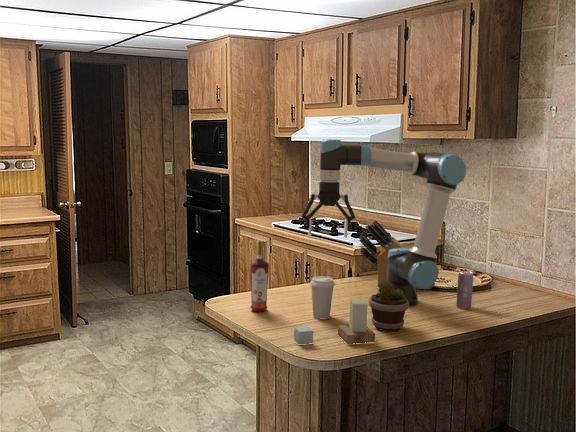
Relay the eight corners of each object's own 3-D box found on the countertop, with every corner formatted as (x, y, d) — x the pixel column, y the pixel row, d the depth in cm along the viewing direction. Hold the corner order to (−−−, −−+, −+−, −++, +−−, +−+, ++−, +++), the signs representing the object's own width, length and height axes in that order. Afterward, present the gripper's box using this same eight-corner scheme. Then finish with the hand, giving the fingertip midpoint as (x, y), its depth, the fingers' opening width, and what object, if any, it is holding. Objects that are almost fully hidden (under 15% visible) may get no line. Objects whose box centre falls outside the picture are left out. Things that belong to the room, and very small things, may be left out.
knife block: (357, 280, 302) (360, 216, 298) (432, 284, 298) (436, 220, 293) (356, 286, 291) (359, 220, 286) (434, 291, 287) (439, 223, 282)
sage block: (363, 327, 223) (364, 299, 221) (366, 331, 218) (367, 303, 216) (349, 327, 222) (350, 299, 221) (352, 332, 217) (353, 304, 216)
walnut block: (364, 335, 227) (364, 324, 226) (374, 344, 217) (375, 333, 216) (337, 336, 224) (338, 325, 224) (347, 346, 215) (347, 335, 214)
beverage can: (472, 306, 263) (474, 271, 261) (469, 310, 258) (472, 274, 256) (457, 304, 266) (459, 270, 264) (454, 308, 260) (457, 273, 258)
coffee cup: (316, 321, 239) (318, 283, 237) (304, 314, 247) (305, 277, 245) (338, 318, 243) (339, 280, 241) (325, 311, 252) (326, 274, 249)
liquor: (250, 313, 247) (251, 242, 243) (248, 307, 254) (249, 239, 250) (269, 312, 248) (270, 242, 244) (266, 307, 255) (268, 239, 251)
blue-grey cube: (307, 339, 219) (307, 326, 218) (312, 344, 214) (313, 330, 214) (293, 341, 217) (294, 327, 217) (299, 346, 213) (299, 331, 212)
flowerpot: (380, 318, 245) (382, 268, 242) (415, 327, 235) (418, 275, 232) (359, 327, 233) (361, 274, 230) (395, 337, 224) (398, 282, 221)
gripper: (297, 181, 230) (295, 238, 234) (364, 182, 233) (362, 239, 236) (295, 179, 238) (293, 235, 241) (360, 180, 240) (358, 235, 243)
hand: (327, 237), depth 238 cm, fingers open, 13 cm apart
